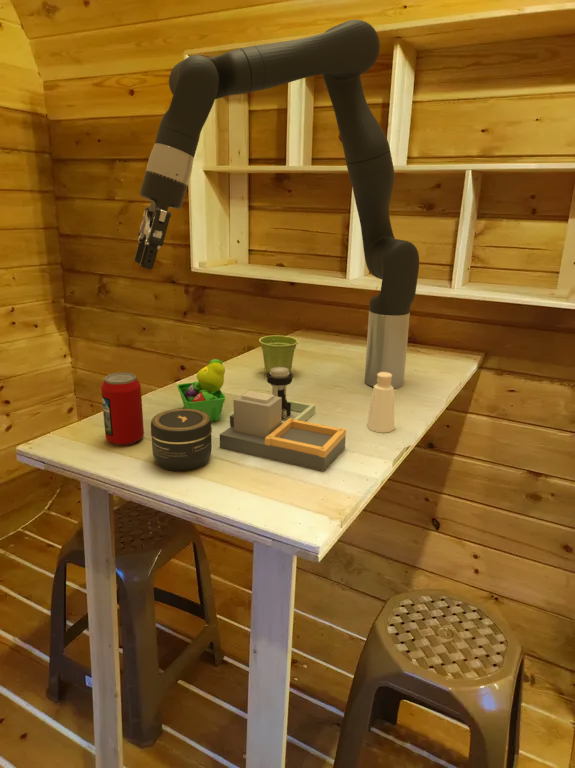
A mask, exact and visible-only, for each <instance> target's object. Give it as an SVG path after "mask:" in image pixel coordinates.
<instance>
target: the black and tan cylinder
mask: <svg viewBox="0 0 575 768" xmlns="http://www.w3.org/2000/svg"><path fill="white" fill-rule="evenodd" d="M265 378H266V381H267V383H268V384H270V386H272V387H271V389H272V391H271V392H272V394H271V395H274V396H277V397H282V416H281V419H285V418H287V416H291V411H292V410H291V403H289V402H287V400H288V399H287V386H288V385H290V384H291V383H292V382H293V378H294V373H292V371H291V372H289V370H288V368H285V367H274V368H272V369H271V371H270V372H268V373H265Z"/></svg>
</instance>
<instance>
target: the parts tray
mask: <svg viewBox="0 0 575 768" xmlns="http://www.w3.org/2000/svg"><path fill="white" fill-rule="evenodd" d="M287 402H289V403H291V411H294V412H299V414H298V415H297V416H295V417H294V418H293V419H295V420H299V421H305V422H307V421H308V420H309V419H310V418H311V417H312V416H314V414H316V405H315V404H312V403H306V402H300V401H296V400H291V399H290V400H289V399H287ZM281 422H282V423H284V422H285V421H283V420H281Z"/></svg>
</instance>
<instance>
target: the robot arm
mask: <svg viewBox="0 0 575 768" xmlns="http://www.w3.org/2000/svg"><path fill="white" fill-rule="evenodd" d="M380 48H381V42H380V38H379V35H378V33H377V31H376V29H375V28H374V26H373V25H371V24H370V23H369V22H368V21H365V20H362V19H349V20H347V21H344V22H341V23H339V24H337V25H334V26H331V27H330V28H328V29H327V30H325V31H324V32H322V33H318V34H315V35H311V36H308V37H307V36H306V37H303V38H298V39H292V40H286V41H279V42H273V43H265V44H258V45H252V46H248V47H247V46H246V47H243V48H236V49H233V50H230V51H227V52H225V53H223V54H220V55H217V56H210V57H207V56H204V55H201V54H195V55H190V56H188V57H187V58H185V59H183V60H182V61H180V62H178V63H177V64H175V65H174V67H173V68H171V71H170V73H169V75H168V77H169V78H168V85H169V90H170V92H171V94H172V99H171V101H170V105H169V107H168V109H167V110H166V112H165V113H164V114H163V115H162V118H161V121H160V123H159V126H158V130H157V134H156V137H155V141H154V145H153V147H152V149H151V151H150V152H151V153H150V155H149V158H148V161H147V165H146V169H145V172H144V176H143V179H142V183H141V187H140V190H139V196H140V197H141V198H144V199H146V200H148V201H150V205H149V206H146V207H145V208H144V211H143V215H142V222H141V223H140V227H139V232H138V233H137V239H138V245H137V247H136V252H135V254H134V259H133V260H134V262H135V263H136V264H139V266H140V267H142V268H144V269H147V270H153V269H154V266H155V261H156V259H157V256H158V255H157V254H158V251H159V250H160V248H161V247H163V245H164V243H165V242H164V241H165V237H166V233H167V230H168V226H169V224H170V219H171V217H172V212H171V211H169V208H172V209H175V210H180V209H181V208H182V206H183V203H184V199H185V196H186V193H187V189H188V186H189V182H190V179H191V176H192V175H191V174H192V170H193V164H194V160H195V159H194V158H195V155H196V152H197V149H198V145H199V142H200V137H201V132H202V130H203V128H204V126H205V124H206V123H207V120H208V118H209V115H210V112H211V110H212V108H213V106H214V103H215V101H216V100H218V99H221V98H225V97H228V96H235V95H236V96H237V95H244V94H251V93H253V92H254V93H255V92H258V91H259V92H260V91H264V90H268V89H271V88H276V87H279V86H283V85H286V84H288V83H293V82H295V81H298V80H302V79H306V78H310V77H315V76H319V75H322V78H323V81H324V84H325V87H326V90H327V93H328V95H329V99H330V101H331V105H332V109H333V112H334V115H335V116H334V117H335V120H336V124H337V129H338V132H339V136H340V140H341V141H340V142H341V145H342V148H343V152H344V153H343V154H344V159H345V165H346V167H347V172H348V177H349V180H350V184H351V187H352V192H353V197H354V202H355V206H356V211H357V215H358V219H359V225H360V230H361V237H362V238H361V239H362V246H363V253H364V260H365V266H366V268H367V270H368V272H369V273H370V274H371V275H372V276H373V277H374V278H377V279H380V280H381V286H380V291H379V293H378V294H377V295H374V296H372V297H371V298H369V304H368V305H369V306H368V321H367V322H368V323H367V336H366V337H367V339H366V350H365V351H366V353H365V367H364V369H365V370H364V383H365V384H366V385H368V386H369V387H370V386H371V387H373V388H374V386H375V385H377V374H378V373H380V372H388V373H390V374H392V378H391V386H392V387H393V388H394V389H399V388H401V387H403V386H404V384H405V373H406V363H407V362H406V361H407V351H408V350H407V349H408V341H409V340H408V339H409V328H410V315H411V306H412V304H413V302H414V300H415V297H416V294H417V293H416V291H417V284H418V280H419V279H418V278H419V277H418V276H419V269H420V256H419V255H420V254H419V251H418V249H417V247H416V246H415V244H413V243H412V242H411V241H408V240H404V239H398V238H395V235H394V232H393V228H392V223H391V218H390V205H391V204H390V203H391V198H392V194H393V190H394V189H393V188H394V183H395V168H394V163H393V157H392V153H391V148H390V144H389V141H388V138H387V135H386V134H385V131H384V130H383V127H382V126H381V125H380V124H379V122H378V120H377V118H376V117H375V115H374V114H373V112H372V111H371V109H370V107H369V104H368V103H367V99H366V96H365V94H364V93H365V92H364V89H363V88H364V87H363V83H362V78H361V75H363V74H365V73H366V72H368V71H369V70H371V69H372V67H374V65H375V64H376V63H377V60H378V58H379V55H380Z"/></svg>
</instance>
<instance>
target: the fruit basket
mask: <svg viewBox="0 0 575 768" xmlns="http://www.w3.org/2000/svg"><path fill="white" fill-rule="evenodd" d="M223 364H224V362H223V361H222V360H220V359H217V358H214V359H211V360H210V361H209V362H208V365H206V366H204V367H203V368H201V369H199V370H198V372H196V373H197V374H196V379H197V380H196V381H193V382H186V383H181V384H180V383H179V384H178V385H177V386H176V387H177V389H178V392H179V393H180V398H181V400H182V404H183V407H184V408H183V409H195V410H200V411H203V412H205V413H206V414H208V415H209V417H210V419H211V423H213V422H218V421H219V420H220V418H221V414H222V410H223V406H224V403H225V400H226V395H224V393H223V392H222V391H221V388H222V387H223V386H224V383H225V379H224V378H225V376H224V375H225V373H226V368H225V367H224V365H223Z"/></svg>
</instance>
